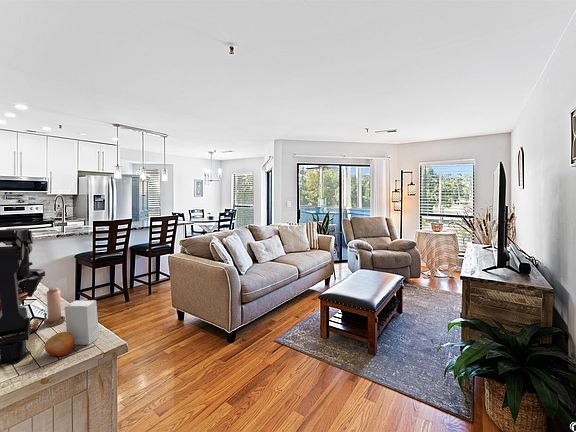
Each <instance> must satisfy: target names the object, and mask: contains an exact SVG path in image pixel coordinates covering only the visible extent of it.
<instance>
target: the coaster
mask: <svg viewBox="0 0 576 432" xmlns="http://www.w3.org/2000/svg"><path fill="white" fill-rule="evenodd" d="M64 323H66V316H63V315H61V320H60V321H57V322H53V323H48V318H46V319H45V320H44V321H43V325H44V326H45V327H55V326H60V325H61V324H64Z"/></svg>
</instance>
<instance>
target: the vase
mask: <svg viewBox="0 0 576 432" xmlns="http://www.w3.org/2000/svg"><path fill="white" fill-rule="evenodd" d="M61 294H62V293H61V289H59V287H50V288H48V290H47V291H46V307H47V308H46V309H47V319H48V323H53V322H57V321H60V320H61V316H62V298H61Z"/></svg>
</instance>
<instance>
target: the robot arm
mask: <svg viewBox="0 0 576 432" xmlns="http://www.w3.org/2000/svg"><path fill="white" fill-rule="evenodd" d="M32 231H33V230H30V227H10V228H6V229H0V244H1V243H3V244H4V245H5V246H0V307H1V308H0V309H1V311H0V365H5V364H6V365H10V364H11V365H12V364H17V363H19V362H20V361H22V360H23V359H25V358H26V357H27V356H29V355H30V354H32V353H31V352H32V351H30V350H29V351H27V344H26V343H27V341H29V339H30V336H31V317H30V316H28V311H27V308H26V307H25V306H22V307H21V305H20V304H21V303H20V295H19V287H18V285H19V283H21V282H23V283H24V284H25V287H26V294H27V297H28V298H32V297H33V296H34V293H35V292H36V290H37V288H38V286H39V285H40V283H41V281H42V280H43V279H44V277H46V271H45V270H44V269H43V268H41V269H40V268H38V269H37V268H32V269H31V268H30V267H31V266H33V261H30V254H31V253H32V251H33V246H32V244H34V239H33V238H34V237H33V232H32ZM11 335H12V336H11Z"/></svg>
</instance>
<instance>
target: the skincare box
mask: <svg viewBox="0 0 576 432" xmlns="http://www.w3.org/2000/svg"><path fill="white" fill-rule="evenodd" d="M64 314H65V316H64V317H65V324H66V325H65V327H66V332H69V333H71V334H72V335H73V337H74V345H76V346H77V345H82V346H83V345H84V346H86V345H87V346H89V345H91V344H92V343H94V342H95V341H96V340H97V339H99V338H100V331H99V321H98V320H99V319H98V307H97V300H95V299H92V300H74V301H72V302H70V303H68V304H67V305H65V306H64ZM74 345H73V346H74Z"/></svg>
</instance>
